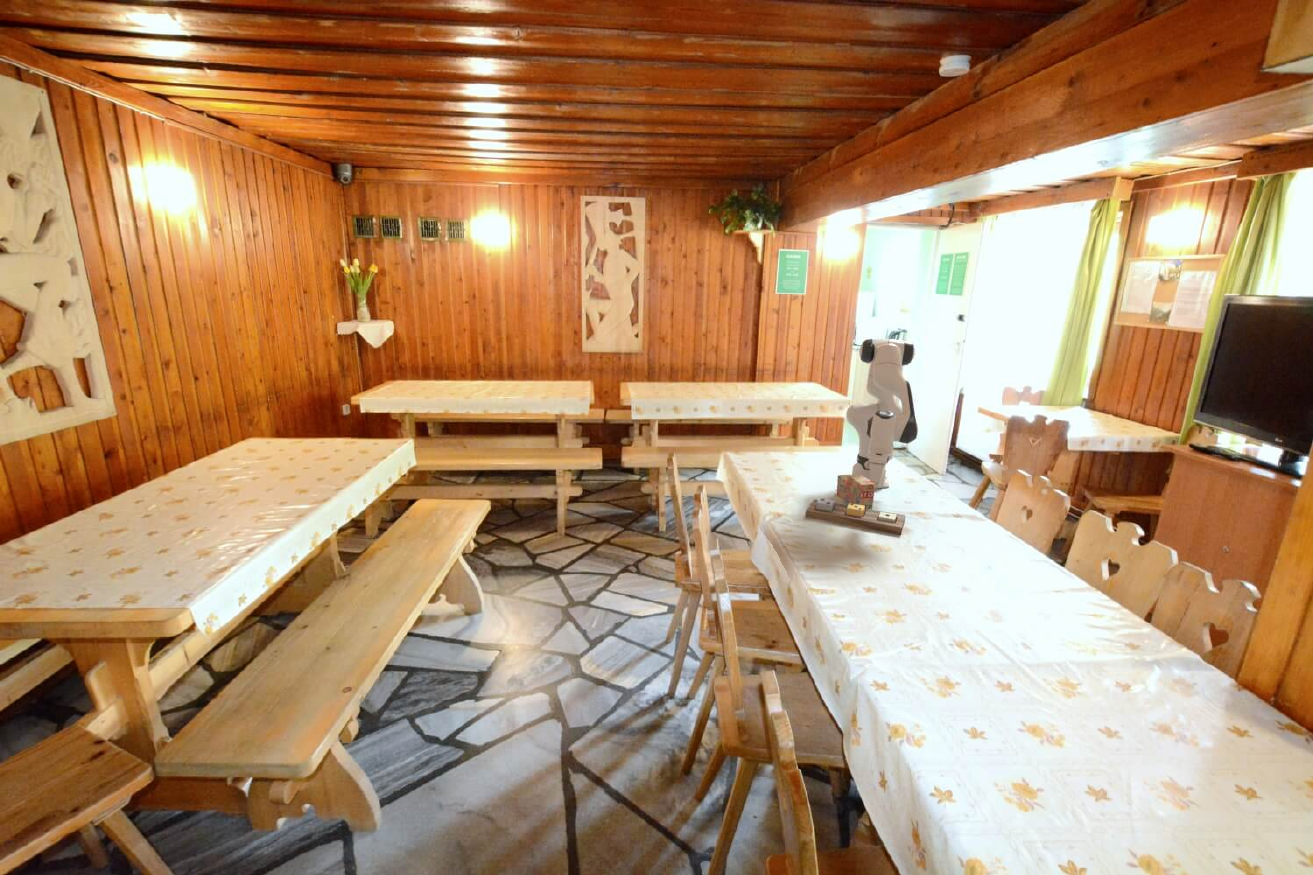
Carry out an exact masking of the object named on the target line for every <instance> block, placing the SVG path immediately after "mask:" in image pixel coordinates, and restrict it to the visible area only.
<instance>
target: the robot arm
mask: <svg viewBox="0 0 1313 875" xmlns="http://www.w3.org/2000/svg"><path fill="white" fill-rule="evenodd" d="M915 353H916V350H915V347H914V344H913V342H911V341H908V340H899V339H895V338H894V339H893V338H892V339H891V338H888V339H887V338H885V339H884V338H882V339H881V338H879V339H877V338H876V339H873V338H868V339H865V340H863V342H862V343H861V345H860V346H859V352H858V354H859V357H860V360H861V361H862V362H863V363H865V364H870V365H869V368H868V375H867V382H866V391H867V393H868V394H869V395H870V396H872V397H873V398H876V399H877V402H875V403H867V402H866V403H864V402H861V403H855V404H854V403H853V404H851V405H850V406H849V407H847V410H846V413H845V417H846V421H847V422H848V424H850V425H851V426H852V427H853V428H854V430H855V432H857V435H858V440H859V442H858V443H859V444H858V454H857V456H856V463H854V464H853V465H852V471H851V475H862V476H864V477H865V478H867V479H869V480H870V482H872V483H874V488H875V490H877V489H885V488H890V484H889V480H888V477H887V476H886V474H887V473H886V472H887V470H886V467H887V464H888V463H889V462H890V461H891V460H893V454H894V448H895V447H894V446H895V445H894V442H895V443H896V442H897V443H903V444H910V443H912V442H914V441H915V440H916V439H917V437H918V432H919V427H918V422H917V419H916V414H915V406H914V399H913V393H912V388H911V384H910V381H908V380H906V379H905V377H904V376H903V370H902V368H903V366H909V365H910V364H911V363H912V361H913V360H914V357H915ZM894 396H895V397H897V398H898V399H899V401H900V402H901V405H900V404H899V403H898V402H897V401H896V399H895V397H894Z"/></svg>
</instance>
